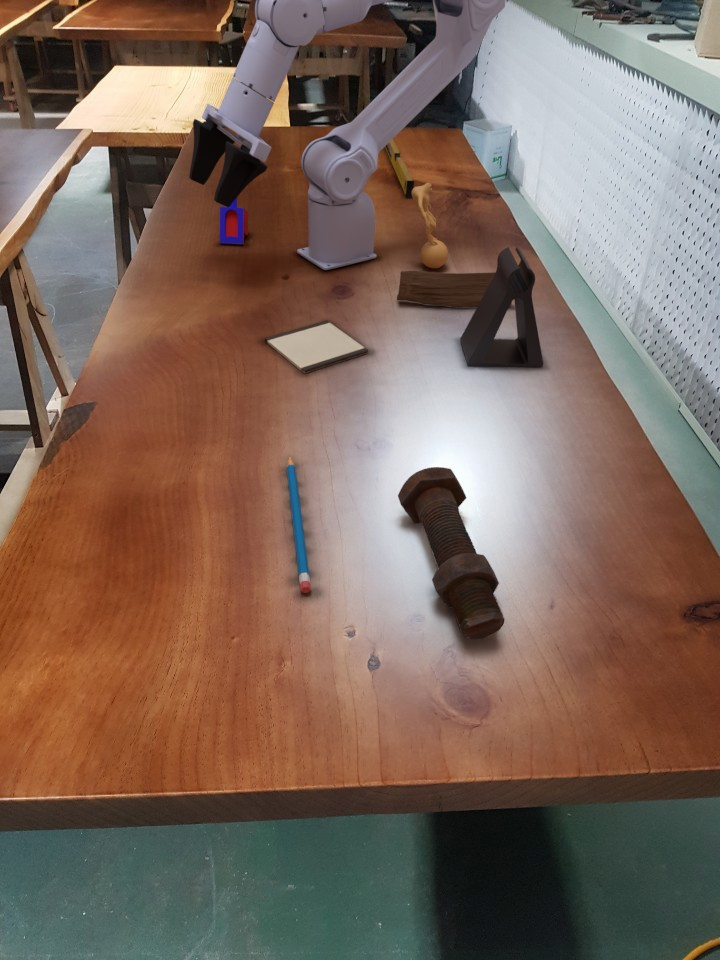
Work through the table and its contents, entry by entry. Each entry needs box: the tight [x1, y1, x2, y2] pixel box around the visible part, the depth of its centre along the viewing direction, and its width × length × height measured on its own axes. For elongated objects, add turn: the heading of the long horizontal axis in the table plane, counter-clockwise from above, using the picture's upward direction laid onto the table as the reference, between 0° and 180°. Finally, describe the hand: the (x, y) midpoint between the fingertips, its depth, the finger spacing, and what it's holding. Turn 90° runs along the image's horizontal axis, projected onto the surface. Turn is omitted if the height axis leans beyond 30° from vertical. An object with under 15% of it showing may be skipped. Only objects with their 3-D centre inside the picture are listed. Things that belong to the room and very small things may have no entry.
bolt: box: [397, 466, 505, 640], centre depth 56 cm, size 6×5×15 cm
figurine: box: [411, 181, 449, 269], centre depth 102 cm, size 8×6×12 cm
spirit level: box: [383, 138, 415, 199], centre depth 142 cm, size 33×1×3 cm, turn 5°
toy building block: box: [219, 197, 249, 246], centre depth 110 cm, size 4×4×8 cm
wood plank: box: [396, 270, 513, 309], centre depth 94 cm, size 15×2×5 cm, turn 93°
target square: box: [264, 320, 369, 374], centre depth 85 cm, size 9×9×1 cm
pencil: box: [286, 456, 312, 594], centre depth 61 cm, size 1×17×1 cm, turn 9°
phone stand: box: [459, 246, 544, 368], centre depth 82 cm, size 9×6×12 cm, turn 92°
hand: (208, 192), depth 94 cm, fingers open, 7 cm apart
